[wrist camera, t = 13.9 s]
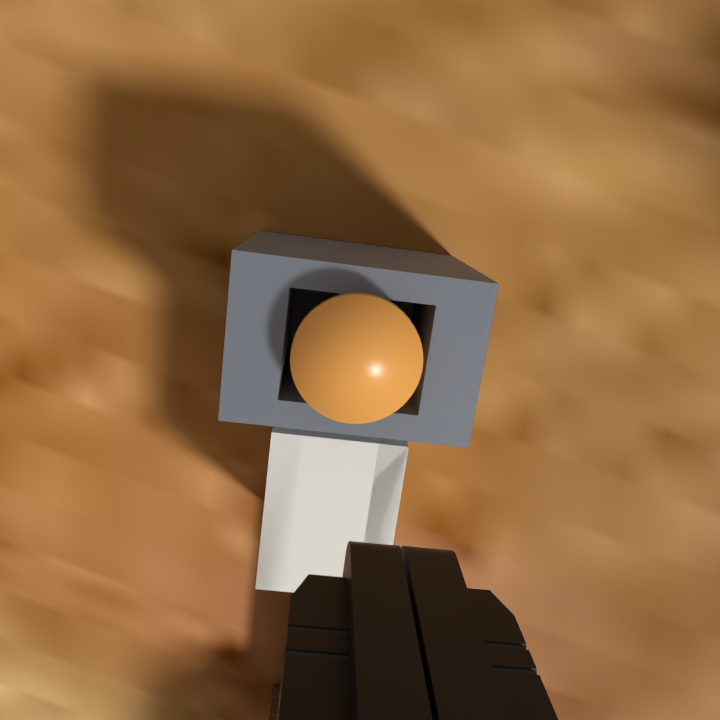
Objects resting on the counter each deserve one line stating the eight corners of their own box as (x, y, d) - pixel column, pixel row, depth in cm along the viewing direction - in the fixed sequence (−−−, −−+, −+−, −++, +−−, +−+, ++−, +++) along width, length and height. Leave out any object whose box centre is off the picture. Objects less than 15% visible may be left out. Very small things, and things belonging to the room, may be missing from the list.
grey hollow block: (451, 255, 31) (499, 283, 22) (431, 376, 32) (468, 447, 24) (260, 230, 30) (231, 249, 21) (249, 355, 32) (218, 420, 23)
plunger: (415, 283, 25) (433, 304, 21) (398, 389, 27) (412, 430, 22) (303, 269, 25) (297, 287, 21) (291, 377, 26) (283, 416, 22)
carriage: (392, 393, 32) (408, 447, 26) (373, 519, 34) (383, 600, 27) (283, 380, 32) (271, 432, 25) (270, 509, 34) (255, 589, 27)
